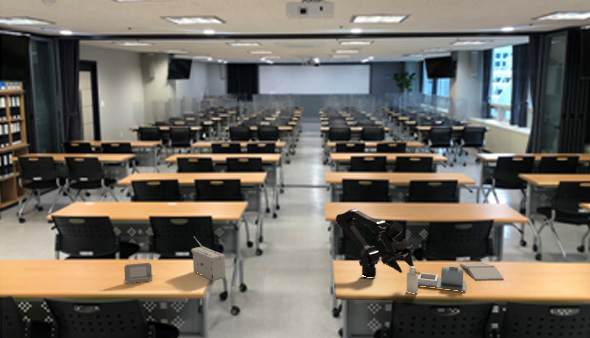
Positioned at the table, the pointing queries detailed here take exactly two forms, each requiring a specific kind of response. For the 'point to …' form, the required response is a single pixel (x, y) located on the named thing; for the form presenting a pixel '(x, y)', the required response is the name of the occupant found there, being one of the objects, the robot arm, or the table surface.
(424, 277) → the tray with square frame
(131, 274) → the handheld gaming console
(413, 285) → the white rounded upright piece
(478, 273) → the gadget
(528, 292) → the table surface
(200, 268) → the stereo radio cassette player
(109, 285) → the table surface
